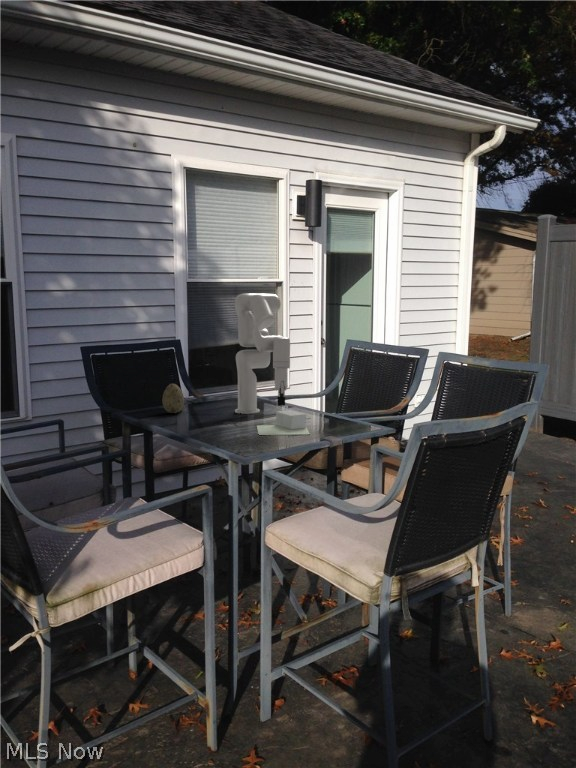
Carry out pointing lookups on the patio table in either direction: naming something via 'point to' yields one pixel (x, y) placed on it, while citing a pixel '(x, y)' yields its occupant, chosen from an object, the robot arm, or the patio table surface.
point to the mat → (280, 430)
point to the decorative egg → (173, 399)
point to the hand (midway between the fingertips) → (281, 405)
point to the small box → (291, 419)
